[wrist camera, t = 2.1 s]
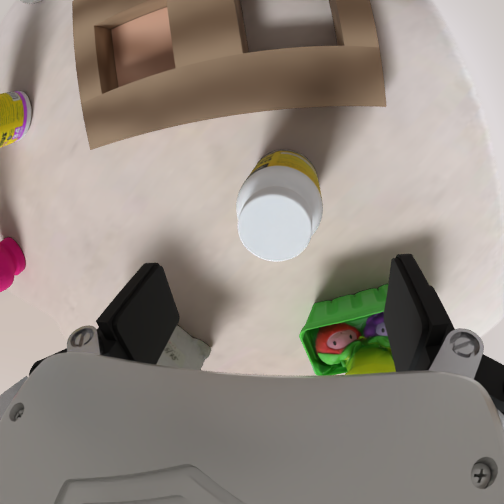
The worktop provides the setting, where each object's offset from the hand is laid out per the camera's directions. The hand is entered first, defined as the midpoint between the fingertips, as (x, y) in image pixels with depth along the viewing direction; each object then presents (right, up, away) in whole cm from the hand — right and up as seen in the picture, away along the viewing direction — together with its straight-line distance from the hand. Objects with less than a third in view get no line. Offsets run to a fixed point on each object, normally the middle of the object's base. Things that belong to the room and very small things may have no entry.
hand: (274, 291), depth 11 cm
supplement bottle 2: (+2, +8, +12) cm, 15 cm away
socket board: (-4, +19, +6) cm, 21 cm away
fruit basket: (+11, -5, +18) cm, 22 cm away
